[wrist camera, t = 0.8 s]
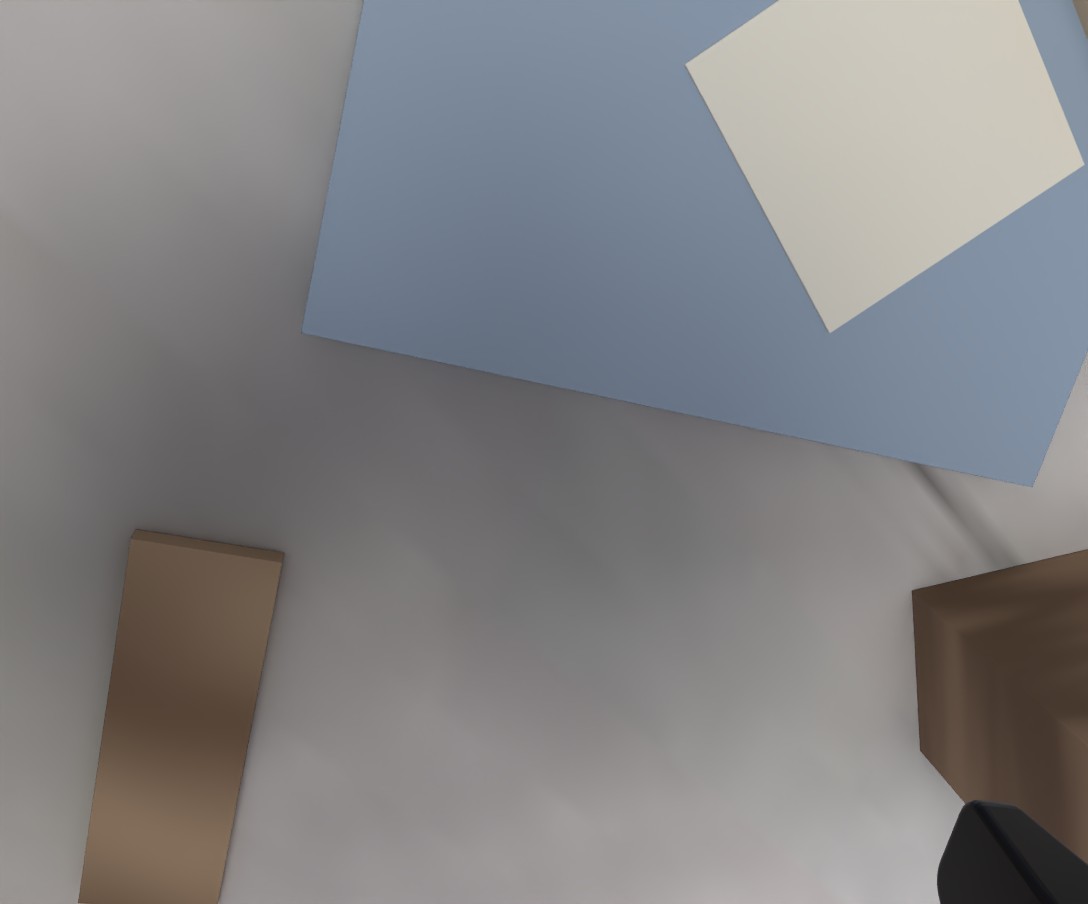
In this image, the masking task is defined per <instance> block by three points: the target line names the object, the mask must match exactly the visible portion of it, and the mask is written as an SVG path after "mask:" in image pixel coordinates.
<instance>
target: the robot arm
mask: <svg viewBox="0 0 1088 904" xmlns="http://www.w3.org/2000/svg"><path fill="white" fill-rule="evenodd" d="M937 888H938V895H939V900H940V904H1088V864H1087V863H1086V862H1085V861H1083V860H1082V859H1081V858H1080V857H1079V856H1077V855H1076V854H1075V853H1074V852H1072V851H1071V850H1070V849H1069V848H1068V847H1066V846H1065V845H1064V844H1063V843H1062V842H1060V841H1059V840H1058V839H1057V838H1056V837H1054V836H1053V835H1052V834H1051V833H1050V832H1048V831H1047V830H1046V829H1045V828H1043V827H1042V826H1041V825H1040V824H1039V823H1037V822H1036V821H1035V820H1034V819H1033V818H1031V817H1030V816H1029V815H1028V814H1027V813H1025V812H1024V811H1023V810H1021V809H1020V808H1019V807H1017V806H1015V805H1013V804H1009V803H1002V802H993V801H984V800H972V801H969V802H968V803H966V804H965V805H964V806H963V808H962V810H961V812H960V814H959V816H958V819H957V821H956V823H955V826H954V828H953V831H952V833H951V836H950V838H949V841H948V843H947V846H946V848H945V851H944V853H943V856H942V858H941V861H940V864H939V868H938V873H937Z"/></svg>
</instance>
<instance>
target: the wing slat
mask: <svg viewBox="0 0 1088 904" xmlns="http://www.w3.org/2000/svg"><path fill="white" fill-rule="evenodd" d="M283 557H284V553H282V552H276V551H269V550H263V549H257V548H250V547H244V546H238V545H231V544H225V543H219V542H212V541H206V540H200V539H193V538H187V537H181V536H175V535H168V534H162V533H156V532H149V531H143V530H137V529H136V530H135V532H134V534H133V536H132V537H131V540H130V547H129V554H128V561H127V568H126V575H125V581H124V588H123V595H122V602H121V609H120V616H119V623H118V630H117V637H116V644H115V651H114V658H113V665H112V672H111V679H110V685H109V692H108V699H107V706H106V713H105V720H104V727H103V734H102V741H101V748H100V755H99V762H98V769H97V776H96V783H95V789H94V796H93V803H92V810H91V817H90V824H89V831H88V838H87V845H86V852H85V859H84V866H83V873H82V880H81V887H80V893H79V900H78V903H83V904H218V900H219V894H220V889H221V884H222V879H223V873H224V868H225V863H226V857H227V852H228V847H229V842H230V836H231V831H232V826H233V821H234V815H235V810H236V805H237V800H238V794H239V789H240V784H241V778H242V773H243V768H244V763H245V757H246V752H247V747H248V742H249V736H250V731H251V726H252V721H253V715H254V710H255V705H256V699H257V694H258V689H259V684H260V678H261V673H262V668H263V663H264V657H265V652H266V647H267V642H268V636H269V631H270V626H271V620H272V615H273V610H274V605H275V599H276V594H277V589H278V584H279V578H280V573H281V568H282V563H283Z"/></svg>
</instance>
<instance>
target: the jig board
mask: <svg viewBox="0 0 1088 904" xmlns="http://www.w3.org/2000/svg"><path fill="white" fill-rule="evenodd" d="M301 333H303V334H308V335H313V336H318V337H322V338H327V339H332V340H336V341H341V342H346V343H351V344H355V345H360V346H365V347H370V348H374V349H379V350H384V351H389V352H393V353H398V354H403V355H408V356H412V357H417V358H422V359H426V360H431V361H436V362H441V363H445V364H450V365H455V366H460V367H464V368H469V369H474V370H479V371H483V372H488V373H493V374H498V375H502V376H507V377H512V378H517V379H521V380H526V381H531V382H535V383H540V384H545V385H550V386H554V387H559V388H564V389H569V390H573V391H578V392H583V393H588V394H592V395H597V396H602V397H607V398H611V399H616V400H621V401H625V402H630V403H635V404H640V405H644V406H649V407H654V408H659V409H663V410H668V411H673V412H678V413H682V414H687V415H692V416H697V417H701V418H706V419H711V420H715V421H720V422H725V423H730V424H734V425H739V426H744V427H749V428H753V429H758V430H763V431H768V432H772V433H777V434H782V435H787V436H791V437H796V438H801V439H806V440H810V441H815V442H820V443H824V444H829V445H834V446H839V447H843V448H848V449H853V450H858V451H862V452H867V453H872V454H877V455H881V456H886V457H891V458H896V459H900V460H905V461H910V462H914V463H919V464H924V465H929V466H933V467H938V468H943V469H948V470H952V471H957V472H962V473H967V474H971V475H976V476H981V477H986V478H990V479H995V480H1000V481H1004V482H1009V483H1014V484H1019V485H1023V486H1028V487H1033V485H1034V482H1035V480H1036V477H1037V475H1038V472H1039V470H1040V467H1041V465H1042V462H1043V460H1044V457H1045V455H1046V452H1047V450H1048V447H1049V445H1050V442H1051V440H1052V438H1053V435H1054V433H1055V430H1056V428H1057V425H1058V423H1059V420H1060V418H1061V415H1062V413H1063V410H1064V408H1065V405H1066V403H1067V400H1068V398H1069V395H1070V393H1071V390H1072V388H1073V386H1074V383H1075V381H1076V378H1077V376H1078V373H1079V371H1080V368H1081V366H1082V363H1083V361H1084V358H1085V356H1086V353H1087V351H1088V0H364V2H363V7H362V13H361V18H360V23H359V28H358V34H357V39H356V44H355V50H354V55H353V60H352V65H351V71H350V76H349V81H348V87H347V92H346V97H345V103H344V108H343V113H342V118H341V124H340V129H339V134H338V140H337V145H336V150H335V155H334V161H333V166H332V171H331V177H330V182H329V187H328V193H327V198H326V203H325V208H324V214H323V219H322V224H321V230H320V235H319V240H318V245H317V251H316V256H315V261H314V267H313V272H312V277H311V283H310V288H309V293H308V298H307V304H306V309H305V314H304V320H303V325H302V330H301Z"/></svg>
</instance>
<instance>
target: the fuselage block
mask: <svg viewBox="0 0 1088 904" xmlns="http://www.w3.org/2000/svg"><path fill="white" fill-rule="evenodd" d="M912 596H913V615H914V635H915V655H916V674H917V694H918V713H919V733H920V751H921V752H922V753H923V754H924V756H925V757H926V758H927V759H928V760H929V761H930V763H931V764H932V765H933V766H934V767H935V768H936V770H937V771H938V772H939V773H940V774H941V776H942V777H943V778H944V779H945V780H946V781H947V783H948V784H949V785H950V786H951V787H952V788H953V790H954V791H955V792H956V793H957V794H958V795H959V797H960V798H961V799H962V800H963V801H964V802H965V804H966V803H968V802H969V801H972V800H984V801H993V802H1002V803H1009V804H1013V805H1015V806H1017V807H1019V808H1020V809H1021V810H1023V811H1024V812H1025V813H1027V814H1028V815H1029V816H1030V817H1031V818H1033V819H1034V820H1035V821H1036V822H1037V823H1039V824H1040V825H1041V826H1042V827H1043V828H1045V829H1046V830H1047V831H1048V832H1050V833H1051V834H1052V835H1053V836H1054V837H1056V838H1057V839H1058V840H1059V841H1060V842H1062V843H1063V844H1064V845H1065V846H1066V847H1068V848H1069V849H1070V850H1071V851H1072V852H1074V853H1075V854H1076V855H1077V856H1079V857H1080V858H1081V859H1082V860H1083V861H1085V862H1086V863H1087V864H1088V550H1084V551H1080V552H1075V553H1071V554H1067V555H1063V556H1058V557H1054V558H1050V559H1046V560H1041V561H1037V562H1033V563H1029V564H1024V565H1020V566H1016V567H1012V568H1007V569H1003V570H999V571H994V572H990V573H986V574H982V575H977V576H973V577H969V578H965V579H960V580H956V581H952V582H948V583H943V584H939V585H935V586H931V587H926V588H922V589H918V590H914V591H912Z"/></svg>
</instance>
